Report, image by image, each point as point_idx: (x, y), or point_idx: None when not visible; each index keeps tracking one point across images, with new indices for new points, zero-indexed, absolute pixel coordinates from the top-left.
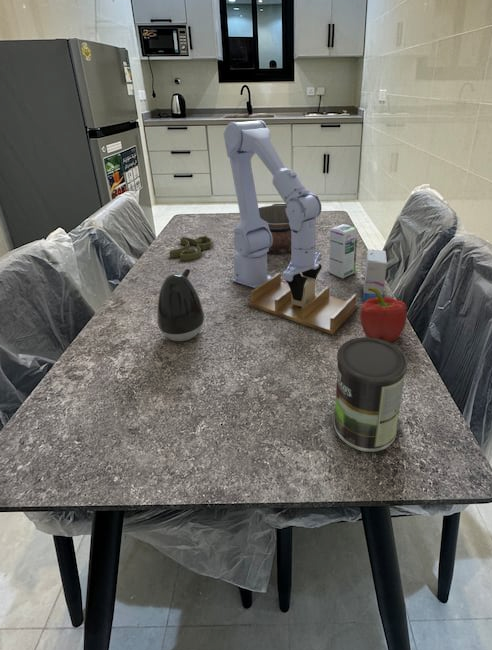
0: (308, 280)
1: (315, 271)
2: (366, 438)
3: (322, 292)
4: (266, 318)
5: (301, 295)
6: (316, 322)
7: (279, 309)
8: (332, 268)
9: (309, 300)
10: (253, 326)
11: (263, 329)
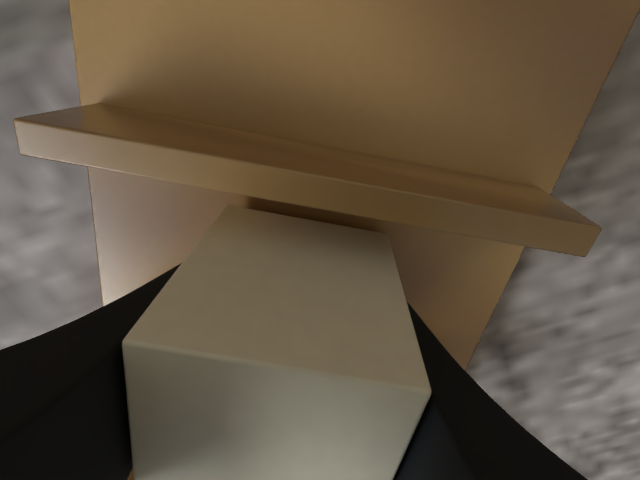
0: (226, 401)
1: (6, 467)
2: None
3: (186, 155)
4: (501, 385)
5: (425, 332)
6: (566, 71)
7: None
8: None
9: (314, 234)
10: (592, 410)
11: (619, 365)
